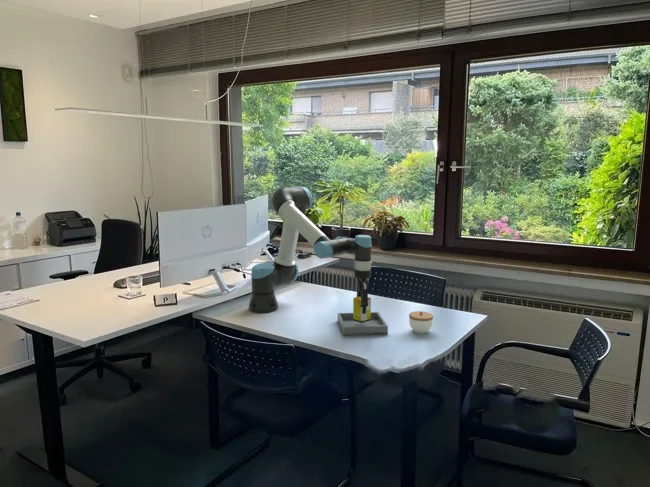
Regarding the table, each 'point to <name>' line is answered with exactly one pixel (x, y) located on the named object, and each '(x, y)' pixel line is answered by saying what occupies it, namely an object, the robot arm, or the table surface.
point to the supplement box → (358, 310)
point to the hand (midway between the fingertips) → (361, 316)
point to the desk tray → (362, 325)
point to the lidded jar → (420, 321)
